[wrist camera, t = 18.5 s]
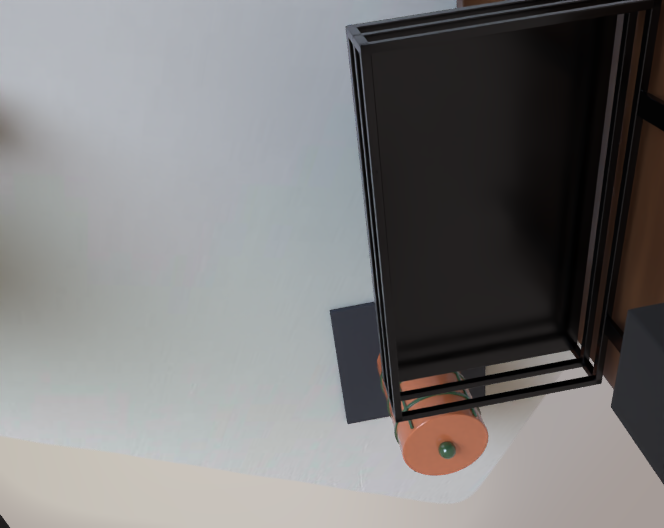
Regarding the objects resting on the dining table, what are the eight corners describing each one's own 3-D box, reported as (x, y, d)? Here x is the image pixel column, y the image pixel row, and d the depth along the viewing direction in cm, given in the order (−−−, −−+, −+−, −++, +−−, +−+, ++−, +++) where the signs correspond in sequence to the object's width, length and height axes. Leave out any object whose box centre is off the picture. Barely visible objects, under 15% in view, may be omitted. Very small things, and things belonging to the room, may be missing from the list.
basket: (382, 378, 37) (446, 593, 26) (345, 25, 26) (429, 140, 15) (612, 335, 38) (769, 527, 27) (671, -27, 27) (980, 46, 16)
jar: (371, 336, 48) (401, 433, 40) (450, 321, 48) (496, 415, 40) (378, 394, 51) (406, 495, 43) (451, 380, 52) (494, 477, 43)
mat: (346, 420, 53) (347, 424, 53) (329, 309, 47) (330, 313, 46) (483, 394, 54) (484, 397, 53) (485, 281, 47) (487, 284, 47)
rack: (459, 271, 46) (619, 552, 27) (455, -42, 35) (730, 66, 16) (588, 247, 47) (835, 507, 28) (627, -69, 35) (1097, 4, 16)
